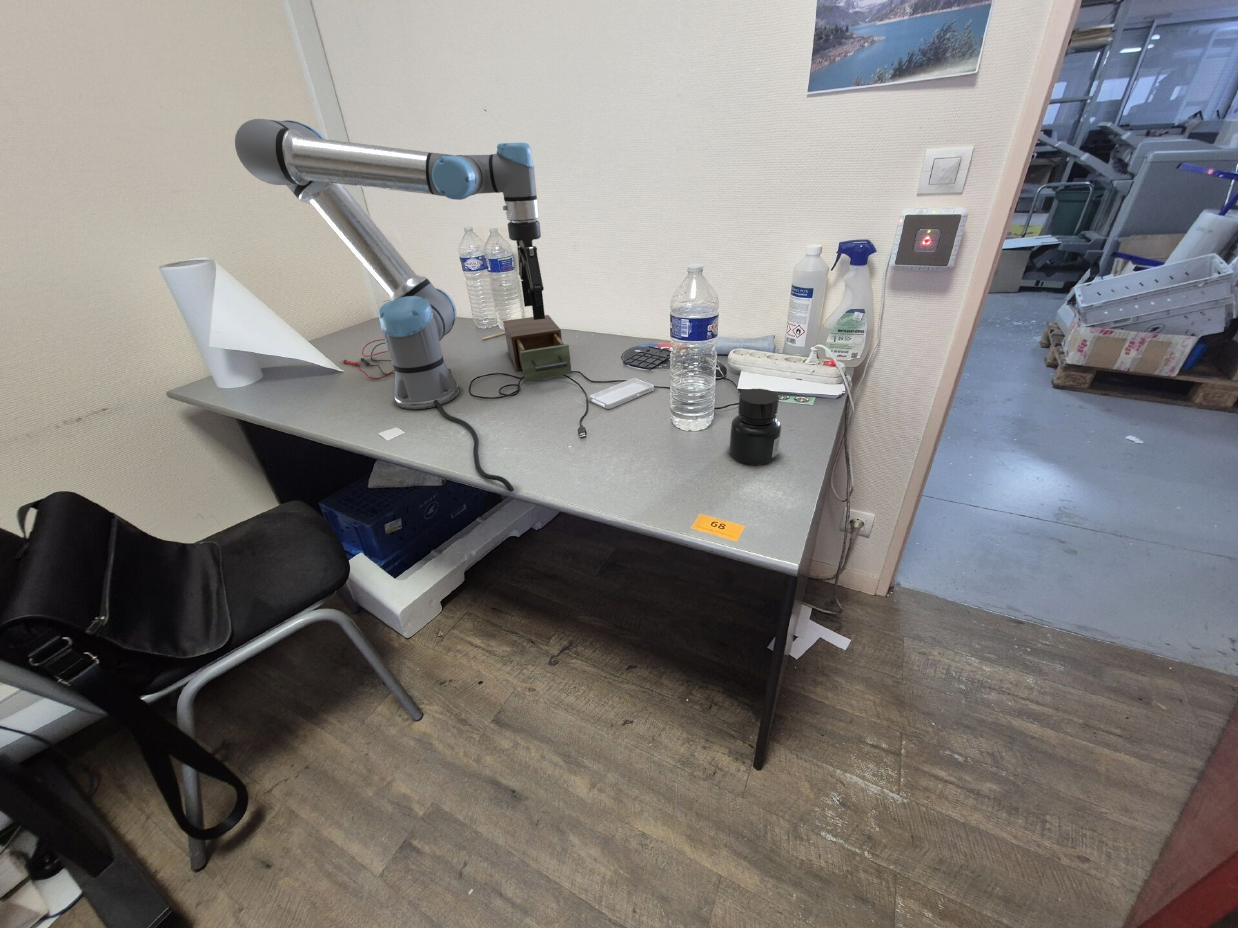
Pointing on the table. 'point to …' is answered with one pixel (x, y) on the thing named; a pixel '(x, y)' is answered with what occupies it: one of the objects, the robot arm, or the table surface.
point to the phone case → (621, 393)
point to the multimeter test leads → (372, 359)
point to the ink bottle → (756, 427)
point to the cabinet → (527, 332)
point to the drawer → (543, 357)
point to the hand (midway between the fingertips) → (534, 312)
